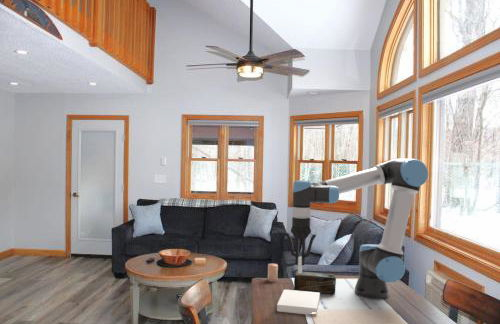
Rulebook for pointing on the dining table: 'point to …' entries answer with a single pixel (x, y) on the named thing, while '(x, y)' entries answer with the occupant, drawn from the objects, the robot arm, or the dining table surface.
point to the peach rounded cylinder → (272, 272)
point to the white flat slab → (298, 302)
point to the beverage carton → (315, 282)
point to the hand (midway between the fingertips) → (299, 272)
